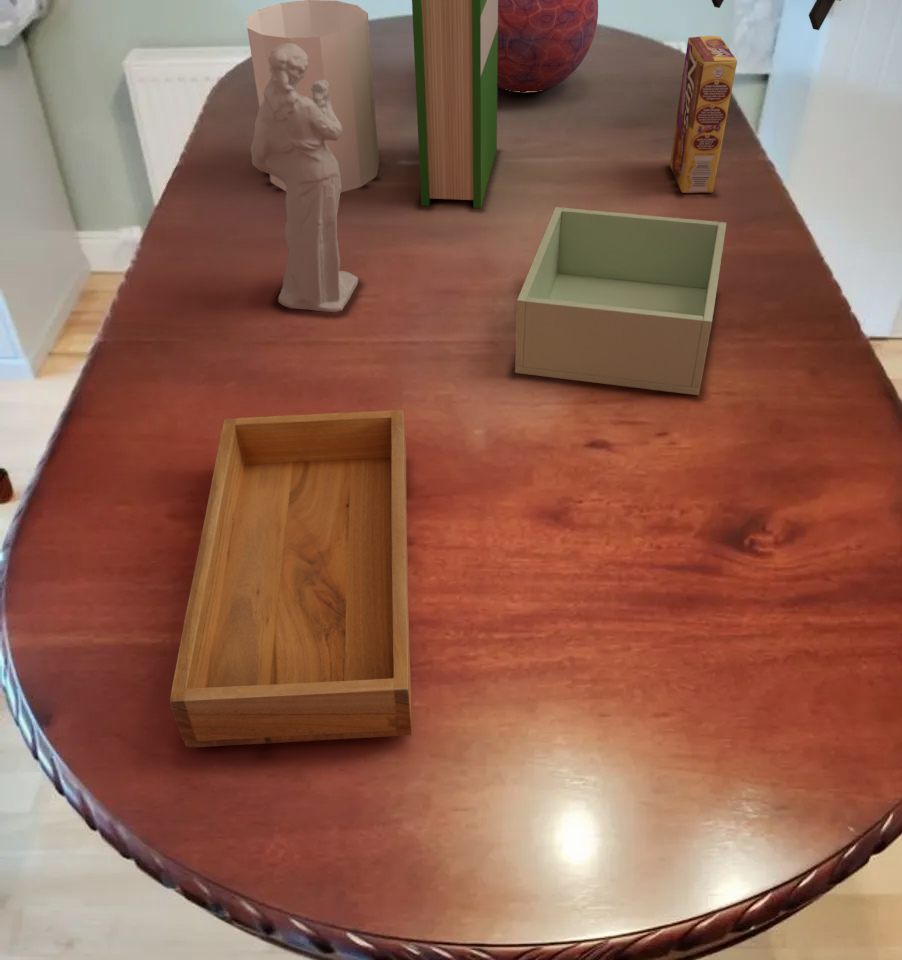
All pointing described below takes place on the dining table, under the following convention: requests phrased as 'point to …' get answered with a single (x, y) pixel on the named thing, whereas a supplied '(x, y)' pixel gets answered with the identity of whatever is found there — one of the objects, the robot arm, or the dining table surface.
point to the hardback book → (456, 96)
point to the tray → (300, 586)
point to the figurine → (304, 181)
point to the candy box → (702, 113)
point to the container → (326, 73)
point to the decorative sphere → (542, 41)
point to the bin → (620, 300)
